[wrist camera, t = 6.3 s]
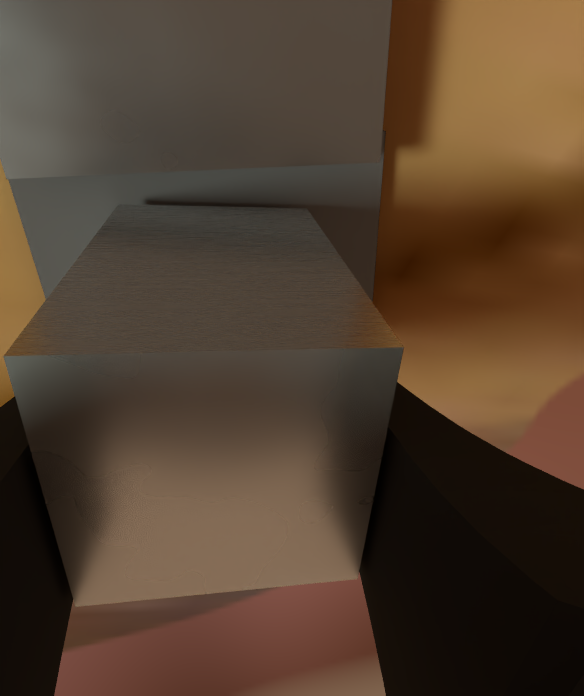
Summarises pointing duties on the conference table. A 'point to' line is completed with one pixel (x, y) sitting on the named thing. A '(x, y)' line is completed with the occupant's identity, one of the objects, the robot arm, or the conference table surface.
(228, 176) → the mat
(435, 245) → the conference table surface
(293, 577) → the pale grey square block
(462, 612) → the robot arm
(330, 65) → the rail
